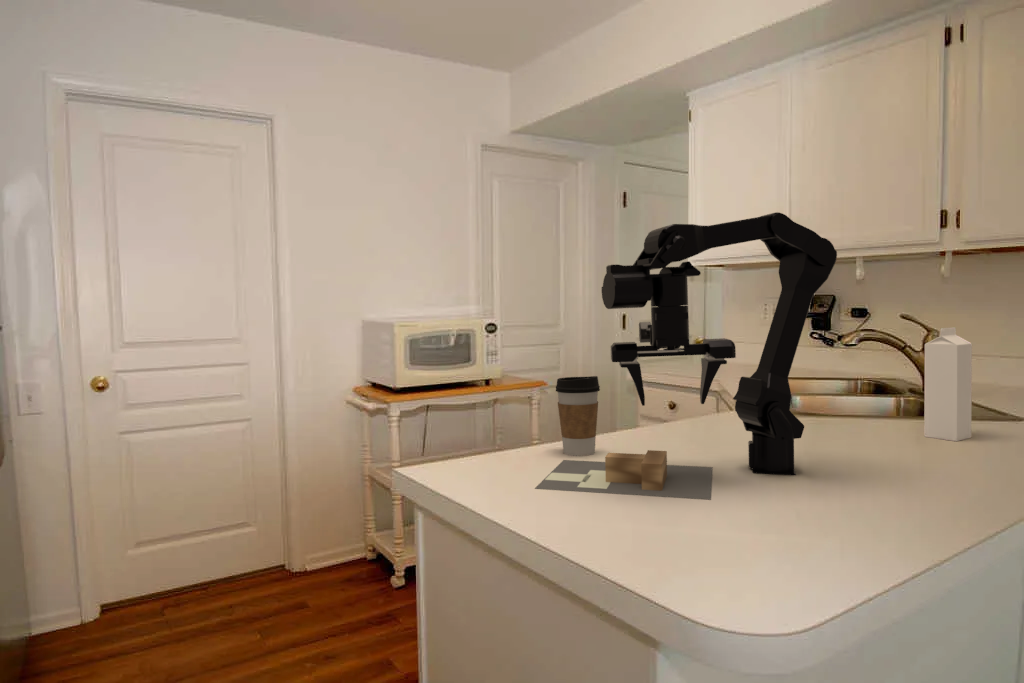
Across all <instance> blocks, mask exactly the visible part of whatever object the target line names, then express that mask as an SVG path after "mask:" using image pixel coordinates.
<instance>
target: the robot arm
mask: <svg viewBox="0 0 1024 683" xmlns="http://www.w3.org/2000/svg"><path fill="white" fill-rule="evenodd" d="M758 240H760V241H761V242H762V243H764V245H765V246H766V248H767V251H768V252H769V253H770V255H771V256H772V257H774V258H775V259H776V260H777V261H779V266H778V275H779V280H780V284H781V285H780V286H781V291H780V294H779V297H778V301H777V304H776V308H775V310H774V314H773V316H772V321H771V322H770V327H769V330H768V333H767V337H766V339H765V343H764V347H763V350H762V353H761V356H760V359H759V362H758V366H757V368H756V370H755V372H753V374H751V376H750V377H746V376H741V377H740V378H739V380H738V381H739V382H738V388H737V391H736V393H735V395H734V396H733V398H732V399H733V400H734V401H735V405H734V411H735V412H736V414H737V416H738V418H739V419H740V420H741V421H742V424H743V427H744V429H745V431H747V432H751V440H749V441H748V442H747V444H748V450H747V451H748V454H747V455H748V468H749V469H751V471H752V473H753V474H757V475H759V474H760V475H776V476H777V475H778V476H796V475H797V473H796V470H795V439H796V440H797V439H801V438H802V435H803V433H804V429H805V425H804V423H803V422H802V421H800V419H798V417H796V416H795V414H793V412H792V411H791V403H792V398H793V397H792V392H791V386H790V383H789V382H790V381H789V376H790V373H791V372H790V371H791V368H792V365H793V362H794V358H795V356H796V352H797V350H798V346H799V343H800V339H801V337H802V334H803V333H802V332H803V329H804V326H805V323H806V320H807V318H808V317H807V316H808V313H809V310H810V307H811V304H812V300H813V297H814V295H815V294H816V293H817V291H818V290H819V289H820V288H821V287H822V286H823V285H824V284H825V283H826V282H827V280H828V279H829V277H830V275H831V273H832V271H833V268H834V267H835V264H836V262H837V257H838V252H837V250H836V249H835V246H834V244H833V243H832V242H831V241H830V240H829V239H828V238H825V237H822V236H820V235H819V234H818V233H816V231H813V230H812V229H810V228H808V227H806V226H803V225H801V224H799V223H797V222H796V221H793V219H791V218H790V217H789V216H788V215H787V214H784V213H782V212H778V211H777V212H772V213H769V214H764V215H761V216H760V215H759V216H758V217H751V218H746V219H738V220H734V221H733V220H732V221H727V222H722V223H716V224H712V225H711V224H710V225H700V224H692V223H690V224H689V223H687V224H686V223H672V224H669V225H666V226H661V227H659V228H656V229H653V230H651V231H649V232H648V234H647V235H646V236H645V239H644V243H643V249H642V251H641V252H640V254H639V255H638V257H637V258H636V260H635V261H634V263H633V265H622V264H608V265H607V266H606V267H605V268H606V271H605V272H606V273H605V275H604V278H603V282H602V286H601V298H602V303H603V305H604V307H605V308H606V309H607V310H616V309H618V310H619V309H635V308H637V309H638V308H639V309H640V308H644V307H645V306H646V305H647V303H648V301H649V302H650V314H651V316H650V317H651V319H650V320H651V321H639V324H638V335H639V336H638V337H639V343H641V344H642V343H649V345H638V344H637V342H635V341H629V342H628V341H626V342H625V341H623V342H618V341H617V342H613V343H612V344H611V345H610V361H611V362H612V363H618V364H619V366H620V368H622V369H623V368H624V369H627V371H628V373H629V374H630V377H631V379H632V381H633V384H634V386H635V389H636V391H637V395H638V398H639V400H640V404H641V406H645V405H646V402H645V399H646V397H645V390H644V389H645V388H644V385H643V377H642V370H641V363H639V361H638V360H639V358H649V357H650V358H651V357H654V358H655V357H676V356H677V357H678V356H681V357H682V356H703V357H702V358H700V359H701V360H700V361H701V375H700V386H699V387H700V388H699V389H700V390H699V399H700V400H699V401H700V404H701V405H704V404H705V403H706V401H707V396H708V394H709V392H710V389H711V386H712V384H713V380H714V379H715V376H716V375H717V373H718V371H719V370H720V367H721V365H727V363H728V361H727V360H726V359H736V358H737V356H736V355H737V354H736V352H737V351H736V345H735V344H736V343H735V342H734V341H733V340H731V339H729V338H703V340H702V343H690V324H689V323H690V321H689V293H688V286H689V285H688V277H699V276H701V271H700V270H699V269H697V268H696V267H695V266H694V265H693V264H692V263H691V261H683V260H687V259H690V258H692V257H695V256H697V255H700V254H701V253H703V252H706V251H708V250H710V249H715V248H720V247H725V246H731V245H736V244H742V243H748V242H752V241H758ZM681 261H683V262H681ZM676 262H681V264H680V265H679V266H669V264H672V263H676ZM658 269H661V270H660V271H659V273H651V271H653V270H658ZM660 349H661V350H660Z"/></svg>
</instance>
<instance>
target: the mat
mask: <svg viewBox="0 0 1024 683" xmlns="http://www.w3.org/2000/svg"><path fill="white" fill-rule="evenodd" d="M713 470H714V467H713V466H698V465H676V464H667V477H666V480H665V483H664V487H663V490H662V491H658V490H642V484H633V483H616V482H606V471H605V461H594V460H593V461H592V460H571V459H563V460H561V462H560V463H559V464H557V466H556V467H555V468H553V470H552V471H550V473H549V474H548V475H547V476H545V478H544V479H542V480H541V481H540V483H538V485H537V486H536V487H535V488H534V489H535V490H545V491H546V490H547V491H548V490H549V491H561V492H562V491H563V492H565V491H566V492H576V493H577V492H578V493H579V492H580V493H593V494H595V493H596V494H613V495H628V496H640V497H641V496H644V497H657V498H673V499H690V500H708V501H711V500H712V486H713V485H712V484H713V472H714V471H713Z"/></svg>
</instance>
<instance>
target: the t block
mask: <svg viewBox="0 0 1024 683" xmlns="http://www.w3.org/2000/svg"><path fill="white" fill-rule="evenodd" d="M604 457H605V458H604V462H605V471H606V482H616V483H633V484H642V490H658V491H662V490H663V487H664V483H665V480H666V477H667V465H668V452H667V450H652V449H647V451H646V453H626V452H625V453H624V452H621V453H620V452H608V453H607V454H605V456H604Z"/></svg>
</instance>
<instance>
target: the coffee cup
mask: <svg viewBox="0 0 1024 683" xmlns="http://www.w3.org/2000/svg"><path fill="white" fill-rule="evenodd" d="M600 388H601V385H600V384H599V377H598V376H597V375H593V376H569V377H568V376H567V377H566V376H565V377H559V378H557V379H556V385H555V392H557V398H558V399H557V400H558V402H557V407H558V409H557V410H558V416H559V425H560V432H561V433H560V434H561V441H562V450H563V454H564V455H566V456H571V457H587V456H592V455H594V454H595V453H596V435H597V426H598V425H597V423H598V409H599V401H598V394H599V393H598V392H599V391H600V390H601V389H600Z"/></svg>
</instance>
